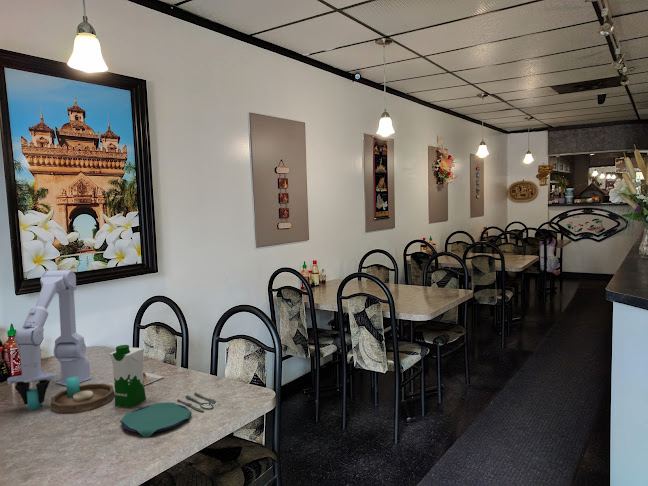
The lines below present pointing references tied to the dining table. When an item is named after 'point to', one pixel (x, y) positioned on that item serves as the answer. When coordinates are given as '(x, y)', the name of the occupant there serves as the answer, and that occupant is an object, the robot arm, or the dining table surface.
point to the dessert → (150, 376)
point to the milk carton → (128, 376)
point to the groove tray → (86, 405)
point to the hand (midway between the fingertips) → (34, 402)
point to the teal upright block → (72, 386)
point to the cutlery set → (160, 416)
